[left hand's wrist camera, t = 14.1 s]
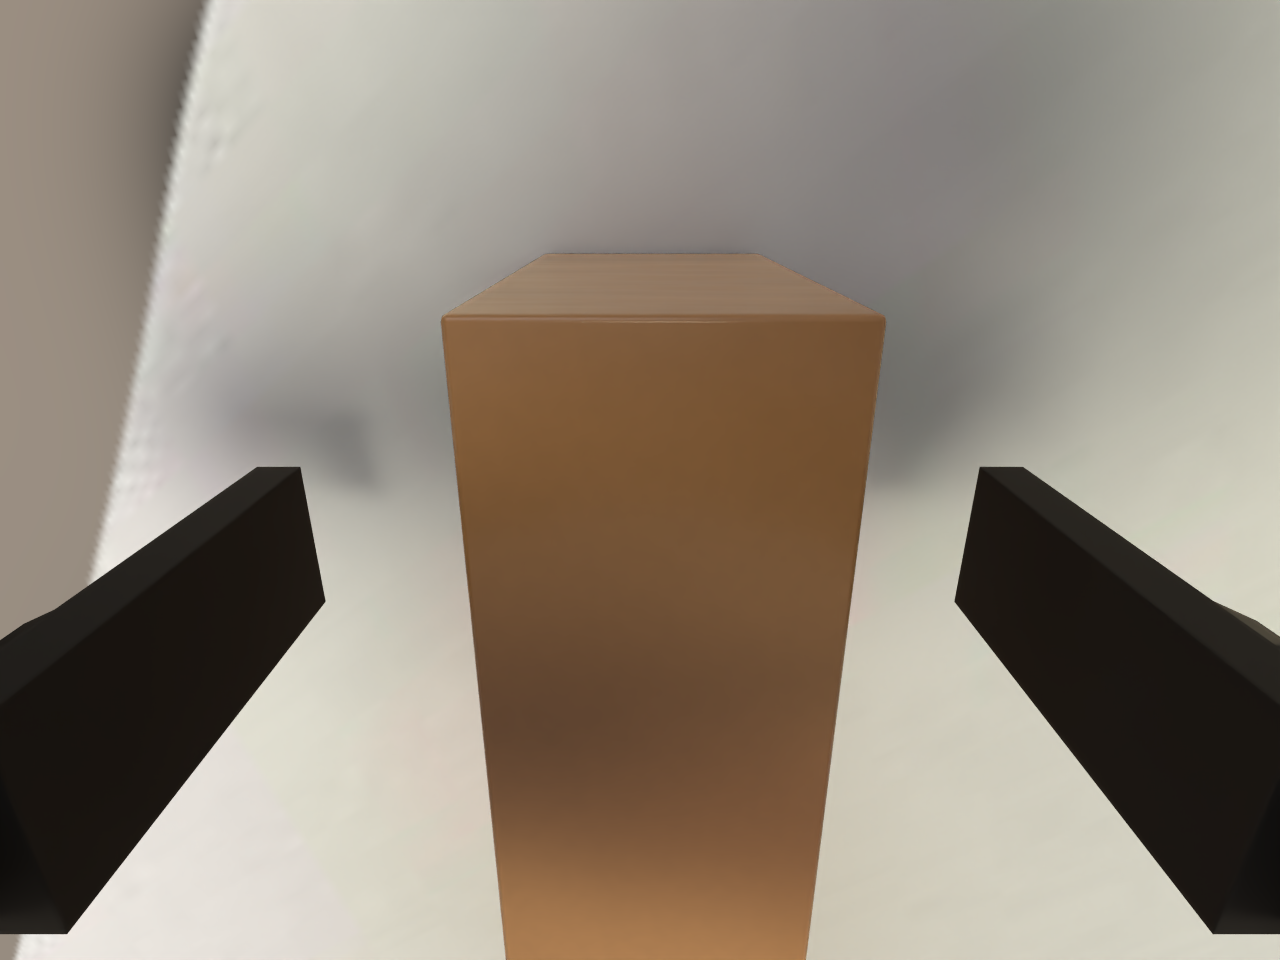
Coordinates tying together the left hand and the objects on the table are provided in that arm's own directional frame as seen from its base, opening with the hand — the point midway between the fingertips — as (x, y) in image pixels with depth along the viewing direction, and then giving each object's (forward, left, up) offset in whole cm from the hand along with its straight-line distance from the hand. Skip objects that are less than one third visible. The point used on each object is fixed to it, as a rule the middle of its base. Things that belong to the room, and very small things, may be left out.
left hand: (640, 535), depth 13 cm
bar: (+31, +14, -4) cm, 34 cm away
